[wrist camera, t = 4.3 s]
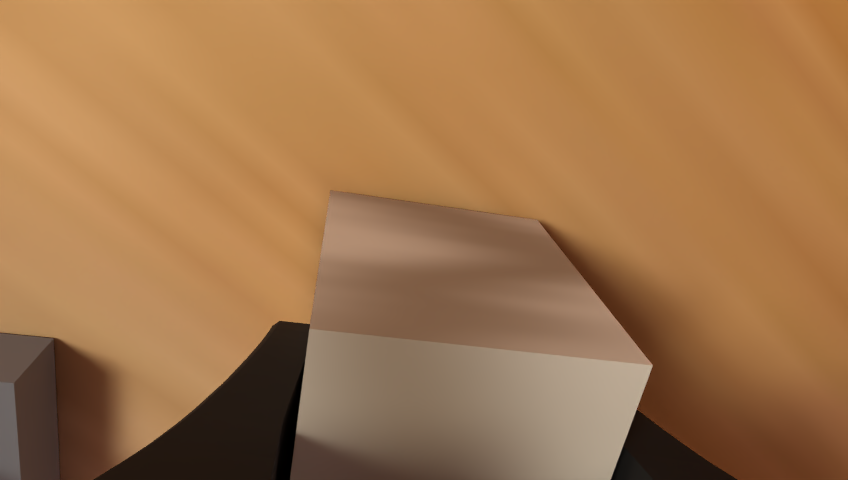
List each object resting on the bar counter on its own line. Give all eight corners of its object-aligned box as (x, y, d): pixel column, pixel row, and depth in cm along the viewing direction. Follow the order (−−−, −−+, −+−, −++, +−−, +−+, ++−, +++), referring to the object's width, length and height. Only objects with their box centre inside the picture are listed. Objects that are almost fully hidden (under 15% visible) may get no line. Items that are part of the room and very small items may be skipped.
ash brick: (537, 219, 12) (653, 366, 7) (472, 463, 14) (529, 697, 9) (330, 190, 11) (309, 328, 6) (296, 450, 13) (262, 694, 9)
